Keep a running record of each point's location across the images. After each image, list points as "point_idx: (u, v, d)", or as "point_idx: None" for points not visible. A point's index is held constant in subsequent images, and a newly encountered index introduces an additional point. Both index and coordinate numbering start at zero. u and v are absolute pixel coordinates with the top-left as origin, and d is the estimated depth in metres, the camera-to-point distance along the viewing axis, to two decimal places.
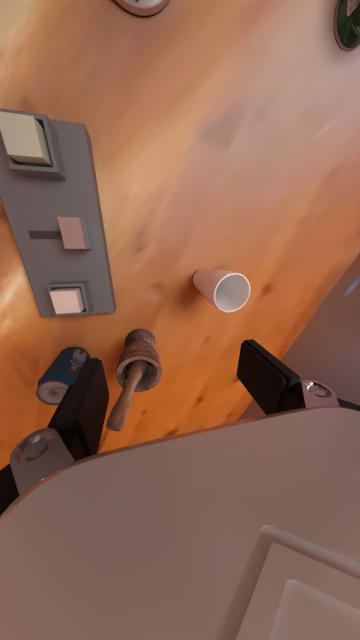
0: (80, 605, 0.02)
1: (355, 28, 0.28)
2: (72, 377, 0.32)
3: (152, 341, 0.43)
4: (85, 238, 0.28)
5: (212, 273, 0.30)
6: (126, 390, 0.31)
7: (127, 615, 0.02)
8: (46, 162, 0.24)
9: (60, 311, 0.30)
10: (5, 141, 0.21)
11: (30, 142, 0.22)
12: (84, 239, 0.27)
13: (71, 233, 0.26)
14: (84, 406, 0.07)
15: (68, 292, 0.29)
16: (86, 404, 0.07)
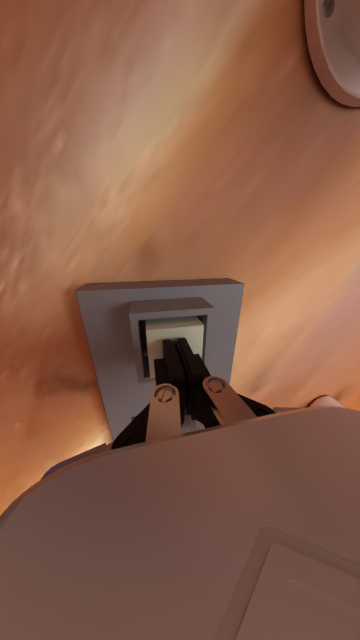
0: (80, 605, 0.02)
1: None
2: None
3: None
4: None
5: None
6: None
7: (127, 615, 0.02)
8: None
9: None
10: (151, 364, 0.12)
11: None
12: None
13: None
14: (182, 371, 0.09)
15: None
16: None
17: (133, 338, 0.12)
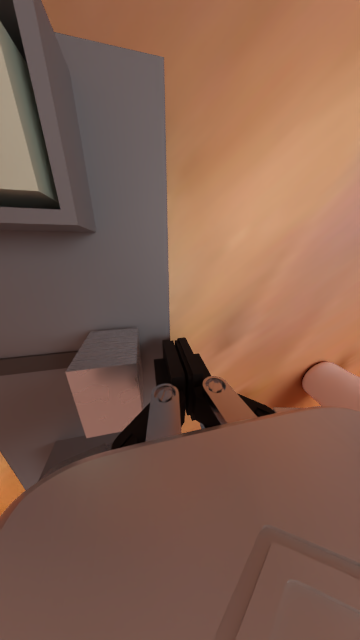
0: (80, 605, 0.02)
1: None
2: None
3: None
4: (141, 390, 0.10)
5: None
6: None
7: (127, 615, 0.02)
8: (51, 201, 0.07)
9: None
10: None
11: None
12: (141, 402, 0.09)
13: (108, 403, 0.08)
14: (182, 371, 0.09)
15: None
16: None
17: None
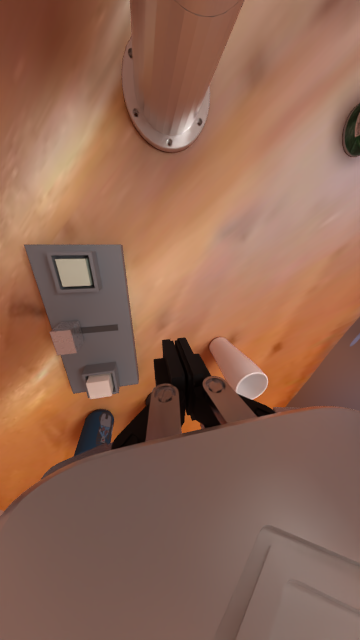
0: (80, 605, 0.02)
1: None
2: None
3: None
4: (76, 341, 0.29)
5: (232, 361, 0.33)
6: None
7: (127, 615, 0.02)
8: (91, 283, 0.28)
9: (94, 397, 0.33)
10: (61, 278, 0.25)
11: (81, 276, 0.26)
12: (75, 344, 0.29)
13: (63, 342, 0.28)
14: (182, 371, 0.09)
15: (102, 382, 0.32)
16: None
17: (50, 265, 0.25)
